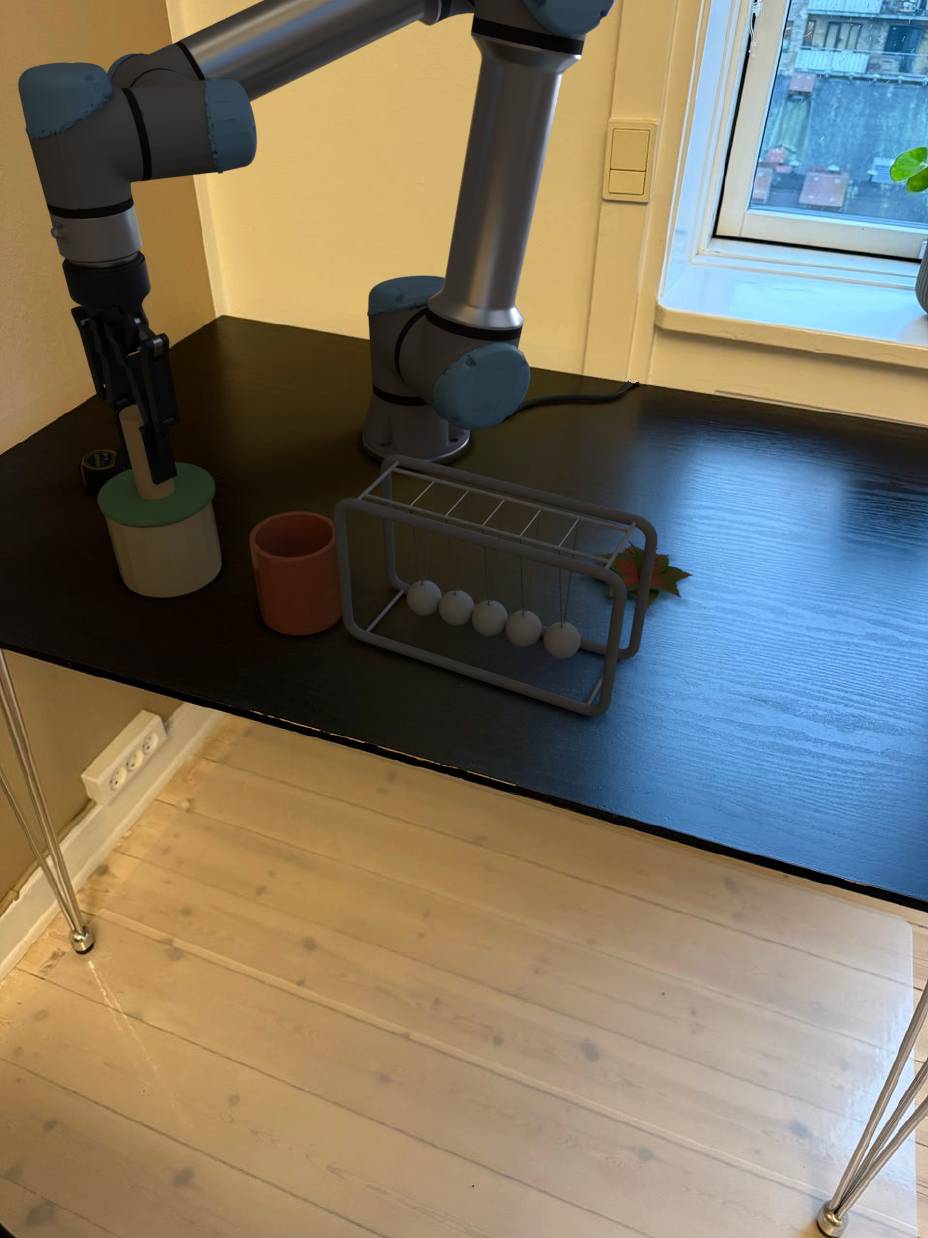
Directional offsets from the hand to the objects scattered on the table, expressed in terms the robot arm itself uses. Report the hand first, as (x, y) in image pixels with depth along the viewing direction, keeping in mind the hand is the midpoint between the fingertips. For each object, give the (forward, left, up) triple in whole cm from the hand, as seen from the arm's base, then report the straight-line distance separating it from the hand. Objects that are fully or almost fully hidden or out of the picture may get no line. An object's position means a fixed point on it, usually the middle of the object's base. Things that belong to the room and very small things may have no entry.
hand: (152, 471), depth 104 cm
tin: (0, 0, -13) cm, 13 cm away
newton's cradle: (-34, +20, -13) cm, 42 cm away
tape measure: (+9, -21, -13) cm, 26 cm away
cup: (-15, +10, -13) cm, 22 cm away
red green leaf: (-54, +10, -13) cm, 56 cm away
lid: (0, 0, -3) cm, 3 cm away
